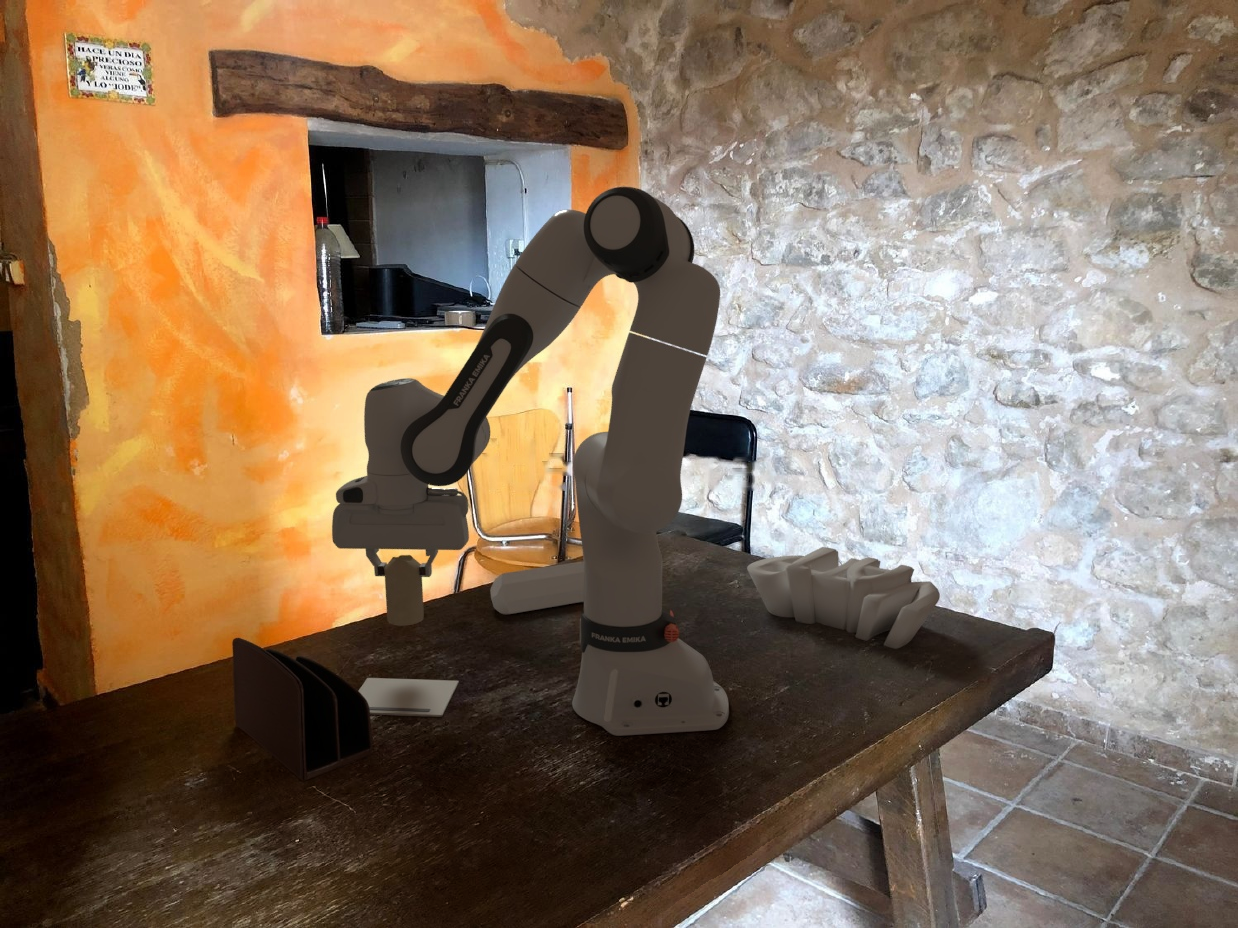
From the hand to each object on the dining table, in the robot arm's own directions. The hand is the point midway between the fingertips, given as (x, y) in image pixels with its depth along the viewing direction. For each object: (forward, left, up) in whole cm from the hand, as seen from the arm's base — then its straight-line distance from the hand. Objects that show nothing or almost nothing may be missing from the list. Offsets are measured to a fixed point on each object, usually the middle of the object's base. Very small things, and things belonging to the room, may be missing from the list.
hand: (403, 575), depth 150 cm
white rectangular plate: (-2, +10, -15) cm, 18 cm away
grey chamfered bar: (-19, -31, -16) cm, 40 cm away
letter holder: (+8, +23, -16) cm, 29 cm away
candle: (0, 0, -7) cm, 7 cm away
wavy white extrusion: (-71, -25, -16) cm, 77 cm away
